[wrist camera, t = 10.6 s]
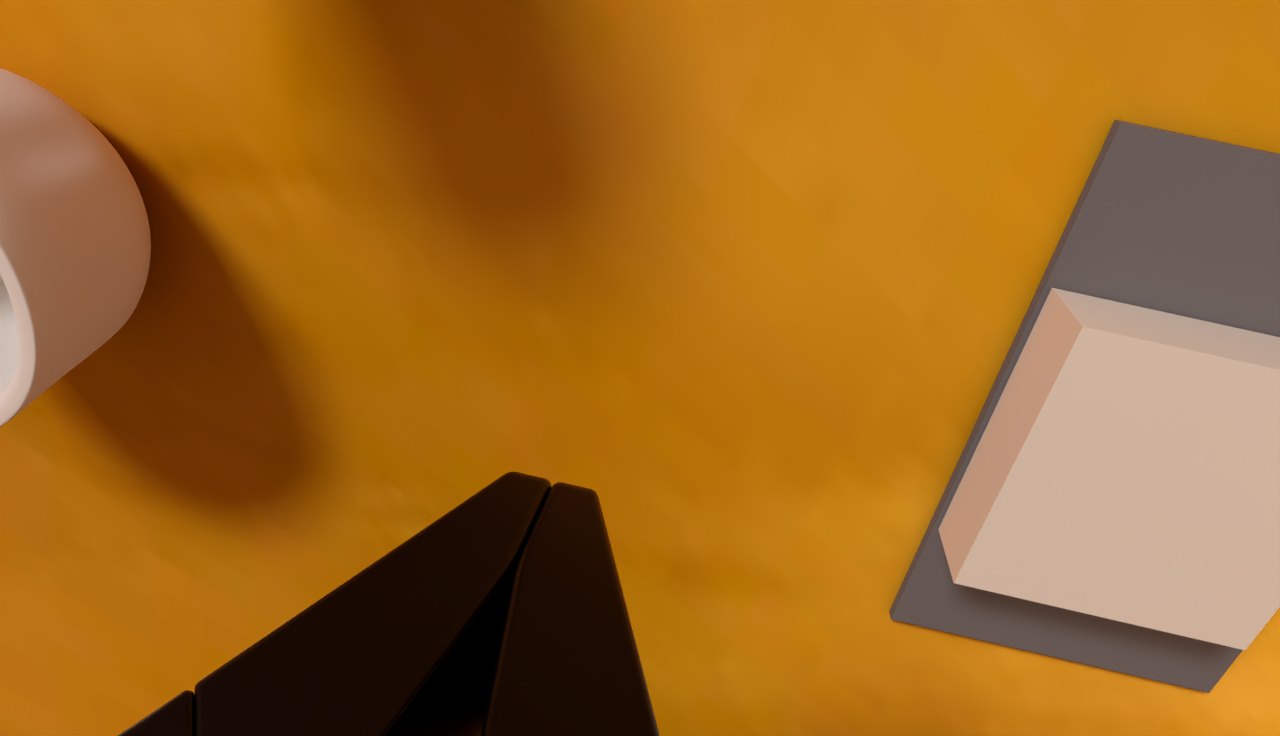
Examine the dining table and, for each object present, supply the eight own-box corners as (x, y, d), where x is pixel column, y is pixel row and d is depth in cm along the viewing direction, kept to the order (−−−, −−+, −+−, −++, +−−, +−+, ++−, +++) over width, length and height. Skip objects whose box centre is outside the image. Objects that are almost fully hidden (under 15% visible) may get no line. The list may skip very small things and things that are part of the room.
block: (937, 528, 21) (1204, 589, 21) (953, 583, 20) (1245, 650, 19) (1051, 286, 18) (1371, 356, 18) (1082, 327, 16) (1439, 404, 16)
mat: (1204, 684, 23) (1209, 692, 23) (889, 611, 23) (890, 618, 23) (1567, 214, 16) (1581, 218, 16) (1115, 120, 16) (1120, 123, 16)
